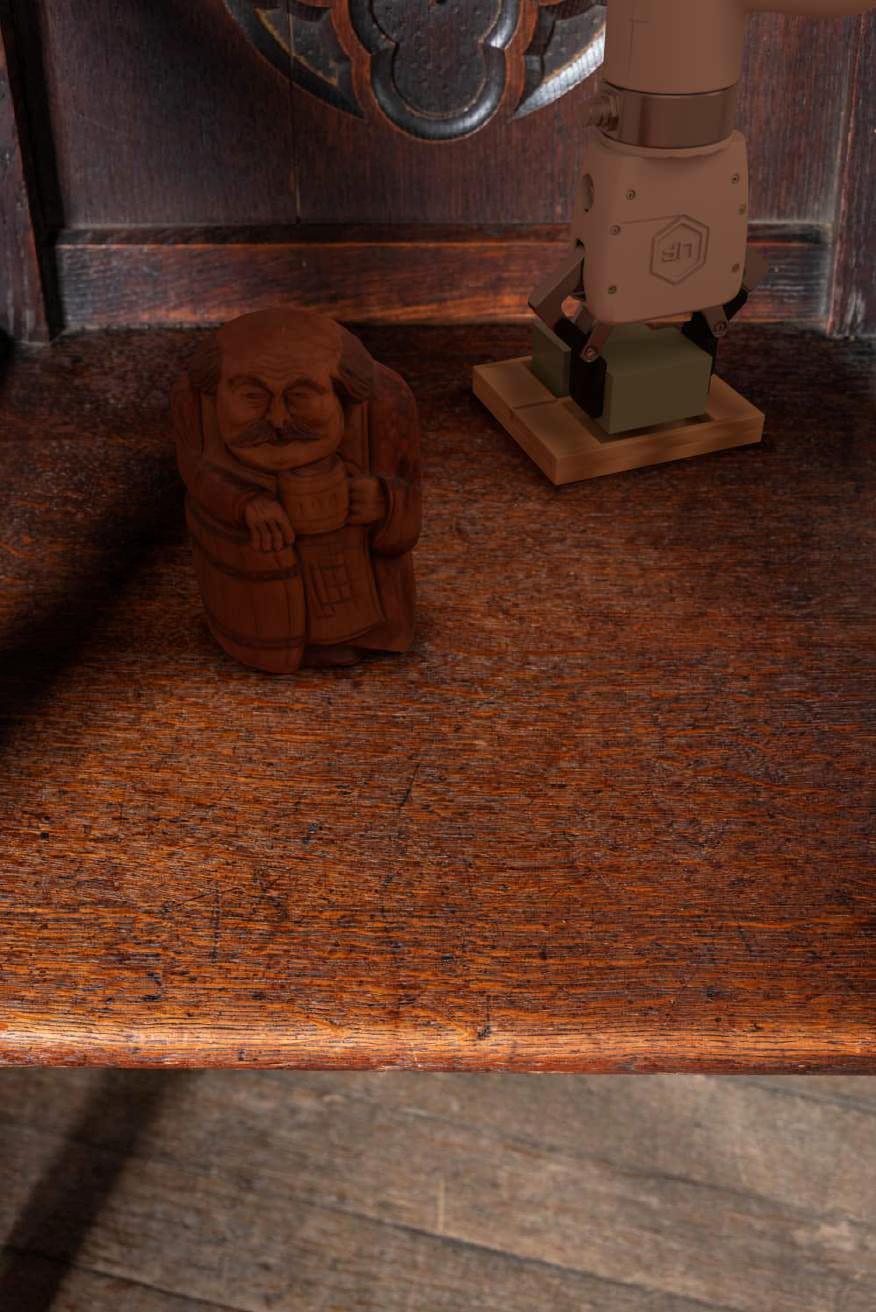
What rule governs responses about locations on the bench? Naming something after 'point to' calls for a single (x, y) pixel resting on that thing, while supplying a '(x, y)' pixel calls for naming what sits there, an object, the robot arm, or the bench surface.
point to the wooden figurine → (299, 491)
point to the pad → (653, 380)
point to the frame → (573, 441)
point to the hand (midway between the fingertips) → (640, 396)
